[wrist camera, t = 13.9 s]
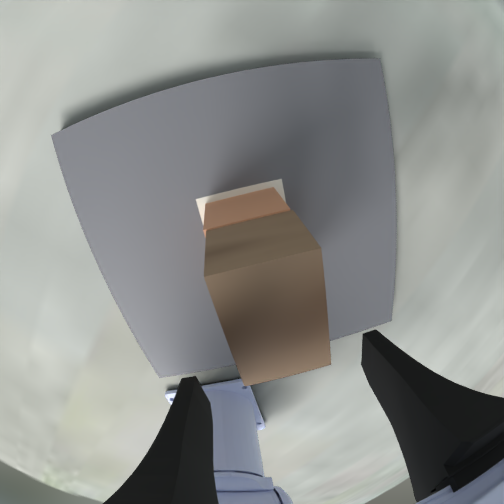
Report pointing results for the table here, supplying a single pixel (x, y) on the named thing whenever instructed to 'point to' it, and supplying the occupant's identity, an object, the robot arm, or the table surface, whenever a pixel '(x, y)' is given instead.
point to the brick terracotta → (243, 208)
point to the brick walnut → (269, 296)
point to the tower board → (236, 194)
